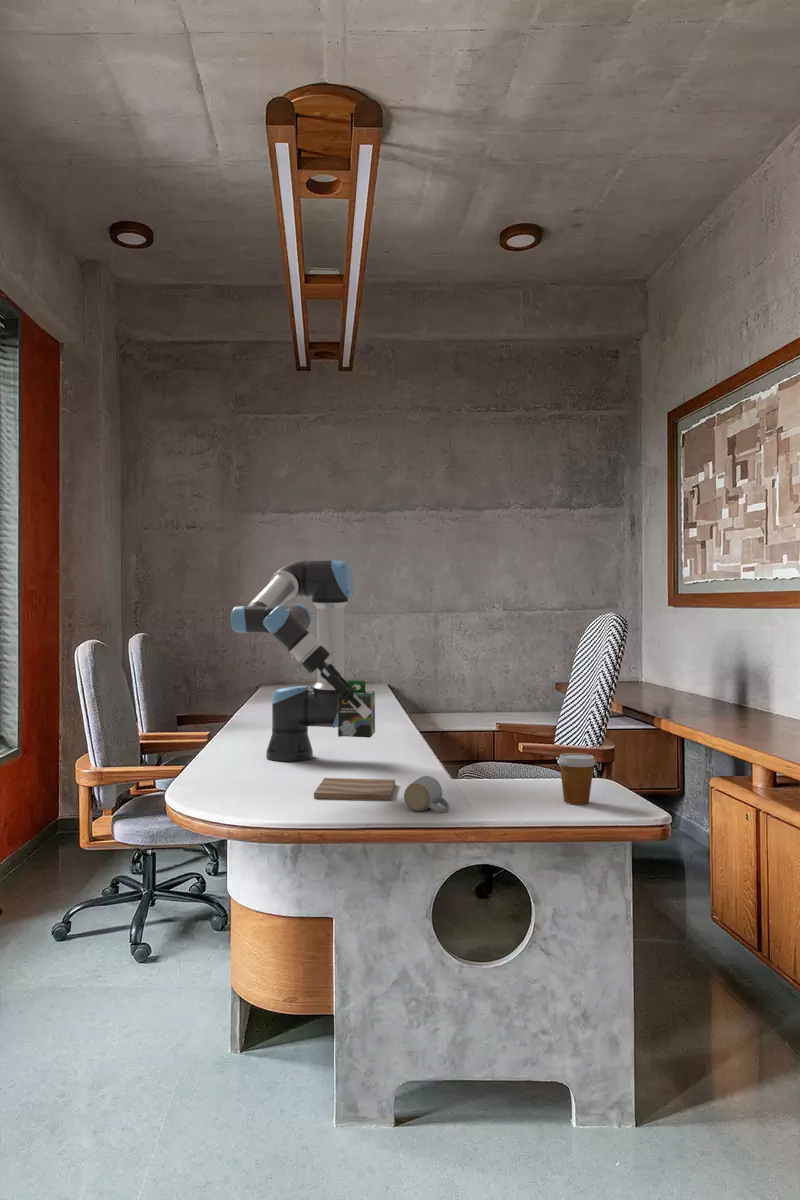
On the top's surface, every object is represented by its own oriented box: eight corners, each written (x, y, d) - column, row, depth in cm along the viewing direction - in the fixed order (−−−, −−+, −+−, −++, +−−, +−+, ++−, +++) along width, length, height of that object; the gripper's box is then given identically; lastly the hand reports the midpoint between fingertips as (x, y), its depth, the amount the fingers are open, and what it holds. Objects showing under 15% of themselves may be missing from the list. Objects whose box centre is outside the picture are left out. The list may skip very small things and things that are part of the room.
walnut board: (324, 783, 252) (324, 777, 252) (395, 784, 251) (395, 779, 251) (313, 798, 232) (314, 792, 232) (390, 800, 231) (390, 794, 231)
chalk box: (375, 733, 245) (376, 679, 246) (371, 737, 236) (372, 682, 236) (342, 732, 246) (342, 678, 246) (336, 737, 237) (337, 681, 237)
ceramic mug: (401, 810, 219) (402, 779, 219) (414, 804, 227) (415, 774, 227) (441, 816, 215) (442, 784, 215) (453, 809, 222) (454, 778, 222)
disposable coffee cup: (598, 806, 226) (599, 759, 226) (560, 806, 226) (561, 758, 226) (591, 798, 236) (591, 753, 236) (555, 798, 236) (555, 752, 236)
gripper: (303, 661, 252) (358, 717, 252) (297, 666, 230) (357, 728, 230) (322, 642, 252) (377, 699, 252) (318, 646, 230) (378, 708, 230)
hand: (368, 713), depth 241 cm, fingers closed on chalk box, 10 cm apart
